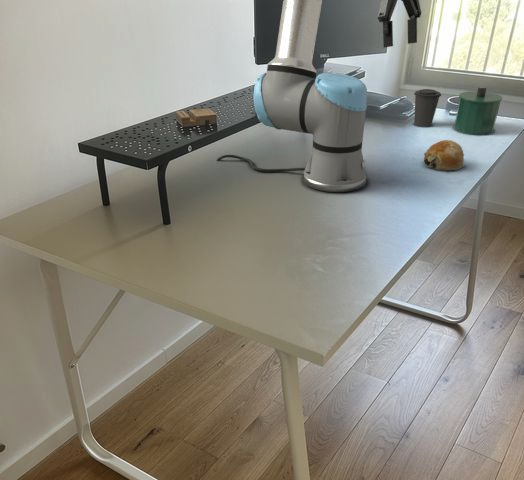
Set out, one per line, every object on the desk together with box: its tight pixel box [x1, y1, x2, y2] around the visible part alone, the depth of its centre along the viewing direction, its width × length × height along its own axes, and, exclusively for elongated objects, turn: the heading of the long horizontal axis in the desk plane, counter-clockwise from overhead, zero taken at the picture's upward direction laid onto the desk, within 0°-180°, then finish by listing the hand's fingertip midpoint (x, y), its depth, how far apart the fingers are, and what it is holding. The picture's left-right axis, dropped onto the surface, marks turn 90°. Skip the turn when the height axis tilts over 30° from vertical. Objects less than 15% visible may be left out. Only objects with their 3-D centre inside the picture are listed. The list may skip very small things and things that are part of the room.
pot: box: [453, 98, 501, 136], centre depth 167 cm, size 11×11×9 cm
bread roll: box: [423, 139, 465, 172], centre depth 144 cm, size 10×10×8 cm
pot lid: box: [458, 85, 503, 103], centre depth 164 cm, size 12×12×4 cm
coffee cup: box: [413, 88, 442, 128], centre depth 171 cm, size 8×8×10 cm
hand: (400, 45), depth 167 cm, fingers open, 13 cm apart
